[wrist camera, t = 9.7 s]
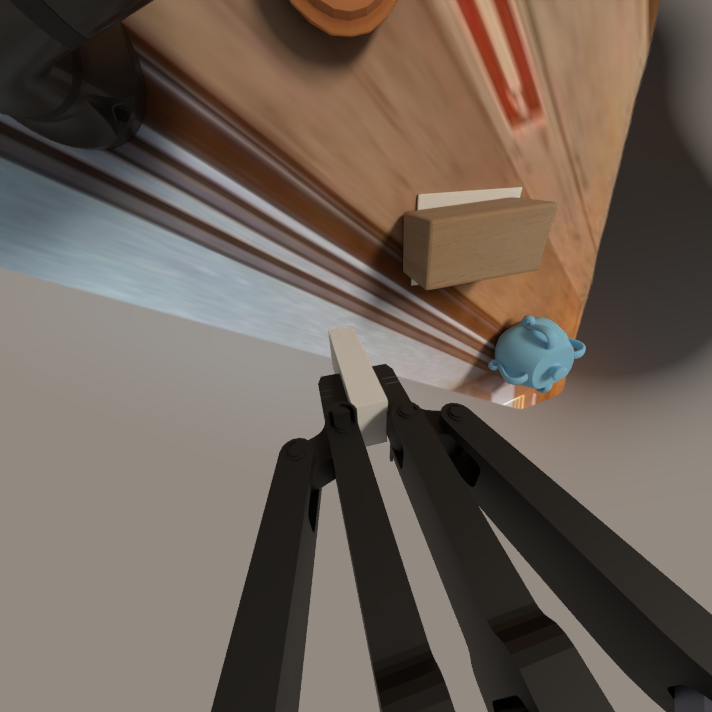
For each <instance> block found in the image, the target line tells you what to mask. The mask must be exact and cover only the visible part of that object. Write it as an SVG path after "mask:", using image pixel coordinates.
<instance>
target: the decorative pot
mask: <svg viewBox="0 0 712 712" xmlns="http://www.w3.org/2000/svg"><path fill="white" fill-rule="evenodd" d="M573 347H575V348H577V349H579V350H578V351H576V352H574V350H573ZM585 349H586V347H585V345H584V344H583V343H581V342H580V341H578V340H575V339H572V338H568V337H567V334H566V332H564V331H563V330H562V329H561V328H560V327H559V326H558V325H556V324H555V323H554V322H553V321H551V320H550V319H547V318H534V317H533V316H531V315H527V316H525V317H524V318H523V319H522V322H520V323H518V324H516V325H514V326H512V327H511V328H509V329H507V330H506V331H505V332H504V333H503V334H502V335H501V336H500V337H499V339H498V342H497V345H496V349H495V359H494V360H491V361H490V362H489V364H488V366H489V368H490V369H491V370H497V369H498V370H499V372H500V373H501V375H502V377H503V379H504V380H505V381H506V382H507V383H509V384H514V385H516V384H520V385H523V386H526V387H530V388H534V389H536V390H537V391H539V392H541V393H545V392H548V391H549V390H551V388H552V384H553V383H555V382H557V381H559V380H561V379H562V378H564V377H565V376H566V375H567V374H568V372H569V371H570V369H571V367H572V364H573V361H574V359H576V358H579V357H581V356H582V355H583V354H584V353H585ZM494 365H496V366H494Z"/></svg>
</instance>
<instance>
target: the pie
mask: <svg viewBox="0 0 712 712" xmlns="http://www.w3.org/2000/svg"><path fill="white" fill-rule="evenodd" d="M289 1H290V3H291V4H292V5H293V6H294V7H295V8H296V9H297V10H298V11H299V12H300V13H301V14H302V15H303V16H304V17H305V18H306V19H307V20H308V21H309V22H310V23H311V24H313V25H314V26H316V27H318V28H319V29H321V30H323V31H324V32H326V33H328V34H329V35H332V36H344V37H353V36H358V35H363V34H368V33H370V32H372V31H373V30H374V29H375V28H376V27H377V26H378V25H380V24H381V23H382V22H383V21H384V20H385V19H387V17H388V15H389V14H390V12H391V10H392V9H393V7H394V5H395V4H396V2H397V0H289Z"/></svg>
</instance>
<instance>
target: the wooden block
mask: <svg viewBox="0 0 712 712" xmlns="http://www.w3.org/2000/svg"><path fill="white" fill-rule="evenodd" d="M556 209H557V203H556V202H551V201H542V200H533V199H523V198H514V197H509V198H502V199H494V200H487V201H480V202H473V203H466V204H458V205H451V206H444V207H437V208H430V209H422V210H415V211H408V212H405V213H404V235H403V272H404V273H405V274H406V275H408V276H409V277H410V278H411V279H413V280H414V281H415V282H416V283H418V284H419V285H420V286H421V287H422V288H424V289H425V290H432V289H437V288H443V287H448V286H454V285H459V284H464V283H470V282H475V281H481V280H486V279H492V278H497V277H503V276H508V275H514V274H519V273H525V272H530V271H535V270H537V269H538V268H539V264H540V261H541V258H542V254H543V251H544V248H545V245H546V241H547V238H548V235H549V232H550V228H551V225H552V222H553V219H554V215H555V212H556Z"/></svg>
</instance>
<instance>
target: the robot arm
mask: <svg viewBox="0 0 712 712" xmlns="http://www.w3.org/2000/svg"><path fill="white" fill-rule="evenodd" d="M152 1H153V0H0V113H1V114H6V115H9V116H11V117H12V118H13V119H15V120H16V121H18V122H19V123H21V124H22V125H24V126H25V127H27V128H28V129H30V130H32V131H34V132H35V133H37V134H39V135H41V136H43V137H45V138H48V139H50V140H52V141H55V142H58V143H61V144H64V145H67V146H71V147H75V148H82V149H90V150H107V149H112V148H116V147H118V146H121V145H123V144H124V143H126V142H127V141H129V140H130V139H131V138H132V137H133V136H134V135H135V134H136V132H137V131H138V129H139V127H140V125H141V123H142V120H143V117H144V113H145V106H146V91H145V83H144V78H143V73H142V69H141V66H140V63H139V60H138V57H137V54H136V52H135V49H134V47H133V45H132V43H131V41H130V39H129V37H128V35H127V33H126V31H125V29H124V28H123V26H122V24H121V23H120V21H122V20H124V19H125V18H127V17H128V16H130V15H131V14H133V13H135V12H136V11H138V10H139V9H141V8H142V7H144V6H146V5H147V4H149V3H150V2H152ZM328 332H329V340H330V348H331V356H332V364H333V368H334V372H335V374H333V375H328V376H323V377H321V378H320V381H319V383H318V385H319V391H320V396H321V402H322V408H323V413H324V418H325V426H324V428H323V430H322V431H321V432H320V433H319V434H318V435H317V436H315V437H314V438H312V439H310V440H306V439H303V438H297V439H292V440H290V441H289V442H287V443H286V444H285V445H284V446H283V447H282V449H281V451H280V453H279V456H278V460H277V464H276V468H275V471H274V475H273V479H272V483H271V487H270V490H269V494H268V498H267V502H266V506H265V509H264V513H263V517H262V521H261V524H260V528H259V532H258V536H257V540H256V544H255V548H254V551H253V555H252V559H251V562H250V566H249V570H248V574H247V577H246V581H245V585H244V589H243V592H242V596H241V600H240V604H239V608H238V611H237V616H236V619H235V623H234V627H233V630H232V634H231V638H230V642H229V646H228V649H227V653H226V657H225V661H224V664H223V668H222V672H221V676H220V679H219V683H218V687H217V691H216V695H215V698H214V702H213V706H212V710H211V712H298V709H299V708H298V707H299V699H300V690H301V680H302V670H303V661H304V652H305V643H306V632H307V624H308V614H309V604H310V595H311V586H312V576H313V567H314V557H315V548H316V538H317V529H318V520H319V519H318V518H319V510H320V501H321V500H320V499H321V490H322V487H323V486H325V485H326V484H328V483H330V482H331V481H333V480H334V479H336V482H337V487H338V493H339V498H340V503H341V508H342V514H343V519H344V524H345V529H346V535H347V540H348V545H349V550H350V555H351V561H352V566H353V571H354V576H355V582H356V587H357V592H358V597H359V603H360V608H361V613H362V617H363V623H364V629H365V634H366V639H367V644H368V649H369V654H370V660H371V665H372V670H373V675H374V681H375V686H376V692H377V696H378V702H379V708H380V712H455V710H454V707H453V704H452V701H451V698H450V695H449V692H448V689H447V686H446V684H445V681H444V678H443V676H442V673H441V671H440V669H439V667H438V665H437V663H436V661H435V659H434V657H433V655H432V652H431V650H430V647H429V644H428V641H427V638H426V635H425V631H424V628H423V625H422V622H421V619H420V616H419V613H418V610H417V606H416V603H415V600H414V597H413V594H412V591H411V587H410V584H409V582H408V578H407V575H406V572H405V569H404V566H403V562H402V559H401V556H400V553H399V550H398V547H397V544H396V541H395V537H394V534H393V531H392V528H391V525H390V522H389V519H388V516H387V512H386V509H385V506H384V503H383V500H382V497H381V494H380V491H379V487H378V484H377V481H376V478H375V475H374V472H373V469H372V465H371V463H370V459H369V457H368V453H367V450H366V446H370V445H374V444H379V443H383V442H386V441H387V436H388V438H389V440H390V461H393V459H394V461H395V464H396V466H397V469H398V471H399V474H400V476H401V479H402V481H403V484H404V486H405V489H406V491H407V494H408V496H409V499H410V502H411V504H412V507H413V509H414V512H415V514H416V517H417V519H418V521H419V524H420V527H421V529H422V532H423V534H424V537H425V539H426V542H427V545H428V547H429V549H430V552H431V555H432V557H433V560H434V562H435V565H436V567H437V570H438V572H439V575H440V577H441V580H442V582H443V585H444V587H445V590H446V593H447V595H448V598H449V600H450V603H451V605H452V608H453V610H454V613H455V615H456V618H457V620H458V623H459V625H460V628H461V630H462V633H463V635H464V638H465V640H466V643H467V646H468V649H469V653H470V658H471V664H472V668H473V672H474V675H475V678H476V681H477V684H478V686H479V689H480V692H481V694H482V697H483V699H484V702H485V705H486V707H487V710H488V712H615V711H614V710H613V708H612V706H611V705H610V703H609V702H608V700H607V698H606V696H605V695H604V693H603V692H602V690H601V688H600V687H599V685H598V683H597V682H596V680H595V679H594V677H593V675H592V674H591V673H590V671H589V669H588V667H587V666H586V664H585V662H584V661H583V659H582V658H581V656H580V654H579V653H578V651H577V649H576V648H575V646H574V645H573V643H572V642H571V641H570V639H569V638H568V636H567V635H566V633H565V632H564V631H563V630H562V629H561V628H560V627H559V625H557V623H556V622H554V621H553V620H552V619H550V618H549V617H547V616H546V615H545V614H543V612H542V611H541V610H540V609H539V607H538V606H537V604H536V603H535V601H534V599H533V598H532V596H531V594H530V593H529V591H528V589H527V588H526V586H525V584H524V582H523V581H522V579H521V577H520V576H519V574H518V572H517V571H516V569H515V567H514V566H513V564H512V562H511V560H510V559H509V557H508V555H507V554H506V552H505V550H504V549H503V547H502V545H501V544H500V542H499V541H498V538H497V537H496V535H495V533H494V532H493V530H492V528H491V527H490V525H489V523H488V522H487V520H486V518H485V516H484V515H483V513H482V511H481V510H480V508H481V509H482V510H483V511H484V512H485V514H486V515H487V516H488V517H489V518H490V519H491V520H492V522H493V523H494V524H495V525H496V526H497V527H498V529H499V530H500V531H501V532H502V533H503V534H504V536H505V537H506V538H507V539H508V540H509V541H510V542H511V544H512V545H513V546H514V547H515V548H516V549H517V551H518V552H520V554H521V555H522V556H523V557H524V559H525V560H526V561H527V562H528V563H529V564H530V566H531V567H532V568H533V569H534V570H535V571H536V572H537V574H538V575H539V576H540V577H541V578H542V579H543V581H544V582H545V583H546V584H547V585H548V586H549V587H550V589H551V590H552V591H553V592H554V593H555V594H556V595H557V597H558V598H559V599H560V600H561V601H562V602H563V604H564V605H565V606H566V607H567V608H568V609H569V611H571V613H572V614H573V615H574V616H575V617H576V619H577V620H578V621H579V622H580V623H581V624H582V626H583V627H584V628H585V629H586V630H587V631H588V632H589V634H590V635H591V636H592V637H593V638H594V639H595V641H596V642H597V643H598V644H599V645H600V646H601V647H602V649H603V650H604V651H605V652H606V653H607V654H608V655H609V656H610V657H611V659H613V661H614V662H615V663H616V664H617V665H618V666H619V667H620V668H621V669H622V670H623V672H624V673H626V675H627V676H628V677H629V678H630V679H632V681H634V682H635V683H636V684H637V685H638V686H639V687H640V688H641V689H642V690H643V691H644V692H645V693H646V694H647V695H648V696H649V697H650V698H651V699H652V700H653V701H655V702H656V703H657V704H658V705H659V706H660V707H661V708H663V709H664V710H665V711H666V712H712V615H711V614H710V613H709V612H708V611H707V610H705V609H704V608H703V607H702V606H701V605H700V604H698V603H697V602H696V601H695V600H694V599H693V598H691V597H690V596H689V595H687V593H685V592H684V591H683V590H682V589H681V588H680V587H678V586H677V585H676V584H675V583H674V582H672V581H671V580H670V579H669V578H668V577H667V576H665V575H664V574H663V573H662V572H661V571H659V570H658V569H657V568H656V567H655V566H653V565H652V564H651V563H650V562H649V561H647V560H646V559H645V558H644V557H643V556H642V555H641V554H639V553H638V552H637V551H636V550H635V549H634V548H632V547H631V546H630V545H629V544H628V543H626V542H625V541H624V540H623V539H622V538H620V537H619V536H618V535H617V534H616V533H615V532H613V531H612V530H611V529H610V528H609V527H608V526H606V525H605V524H604V523H603V522H602V521H600V520H599V519H598V518H597V517H596V516H594V515H593V514H592V513H591V512H590V511H589V510H587V509H586V508H585V507H584V506H583V505H582V504H580V503H579V502H578V501H577V500H576V499H575V498H573V497H572V496H571V495H570V494H569V493H567V492H566V491H565V490H564V489H562V487H560V486H559V485H558V484H557V483H555V482H554V481H553V480H552V479H551V478H550V477H549V476H547V475H546V474H545V473H544V472H543V471H541V470H540V469H539V468H538V467H537V466H536V465H534V464H533V463H532V462H531V461H530V460H528V459H527V458H526V457H525V456H524V455H522V454H521V453H520V452H519V451H518V450H517V449H516V448H514V447H513V446H512V445H511V444H510V443H508V442H507V441H506V440H505V439H504V438H503V437H501V436H500V435H499V434H498V433H497V432H495V431H494V430H493V429H492V428H491V427H490V426H488V425H487V424H486V423H485V422H484V421H482V420H481V419H480V418H479V417H478V416H477V415H475V414H474V413H473V412H472V411H471V410H469V409H468V408H467V407H465V406H463V405H461V404H457V403H450V404H446V405H445V406H443V407H442V409H441V411H431V410H424V409H421V408H420V407H419V406H418V405H416V404H415V403H413V402H411V401H410V399H409V397H408V395H407V394H406V392H405V390H404V388H403V387H402V385H401V383H400V382H399V380H398V378H397V377H396V374H395V373H394V371H393V369H392V368H390V367H389V366H388V365H386V364H382V365H377V366H371V364H370V362H369V360H368V357H367V355H366V353H365V351H364V349H363V347H362V345H361V343H360V341H359V338H358V336H357V334H356V332H355V330H354V328H353V326H348V327H342V328H336V329H330V330H328ZM477 504H478V505H477ZM479 507H480V508H479Z"/></svg>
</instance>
